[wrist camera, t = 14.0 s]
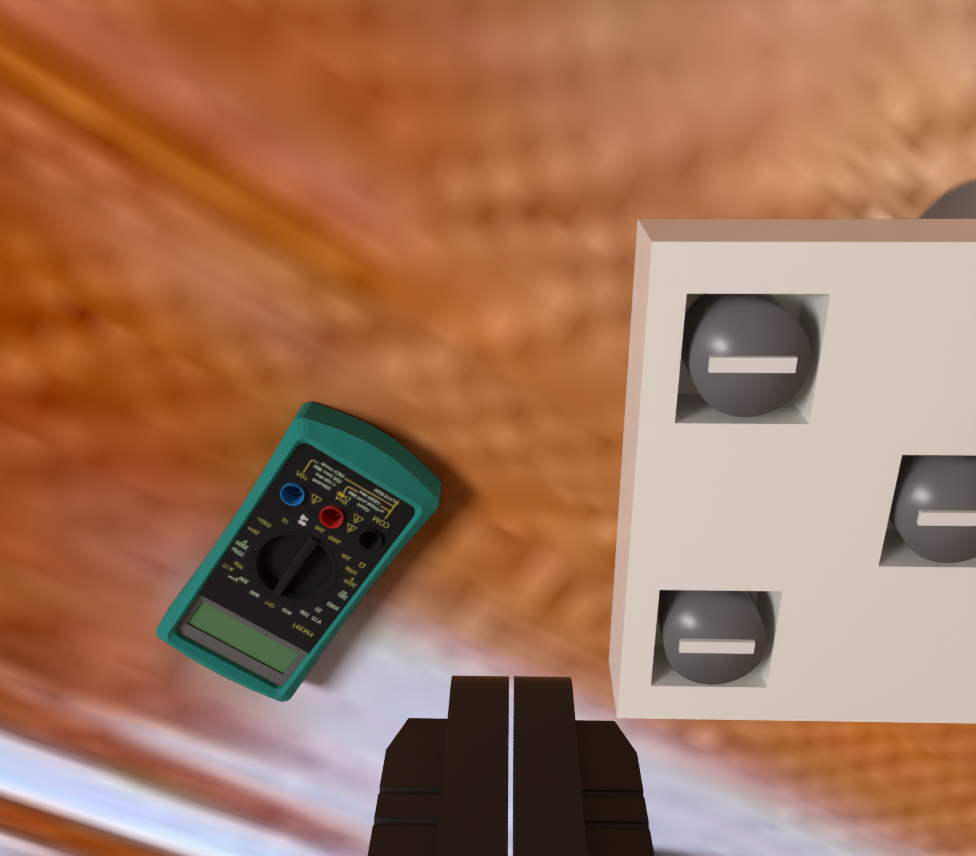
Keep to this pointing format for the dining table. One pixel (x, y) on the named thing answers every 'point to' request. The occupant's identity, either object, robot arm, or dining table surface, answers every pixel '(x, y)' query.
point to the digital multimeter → (301, 551)
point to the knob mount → (801, 472)
